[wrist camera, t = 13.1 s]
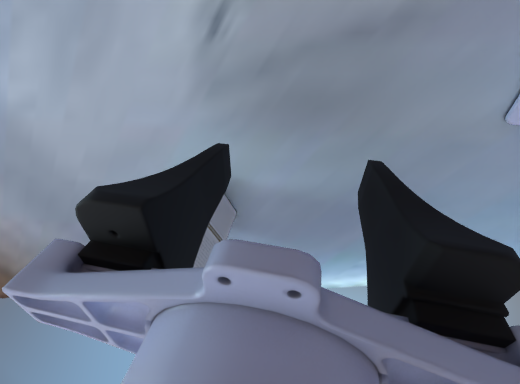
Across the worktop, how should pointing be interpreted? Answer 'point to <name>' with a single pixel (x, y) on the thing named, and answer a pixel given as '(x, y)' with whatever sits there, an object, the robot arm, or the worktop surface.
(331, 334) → the robot arm
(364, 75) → the worktop surface
